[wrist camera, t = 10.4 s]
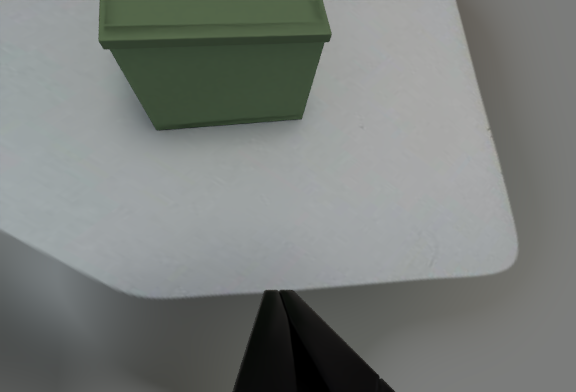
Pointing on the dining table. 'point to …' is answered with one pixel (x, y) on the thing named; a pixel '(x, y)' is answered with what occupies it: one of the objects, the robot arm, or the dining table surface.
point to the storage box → (216, 57)
